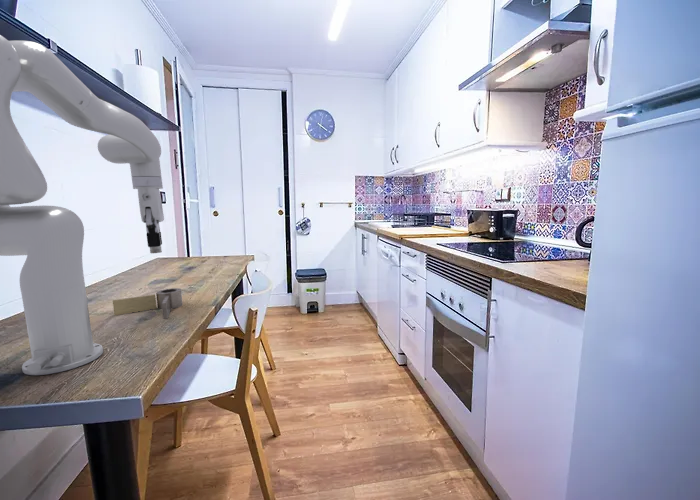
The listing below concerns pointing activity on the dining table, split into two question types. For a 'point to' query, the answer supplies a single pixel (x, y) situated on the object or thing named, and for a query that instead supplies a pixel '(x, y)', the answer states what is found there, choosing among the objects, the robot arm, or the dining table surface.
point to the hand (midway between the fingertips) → (155, 245)
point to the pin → (158, 249)
